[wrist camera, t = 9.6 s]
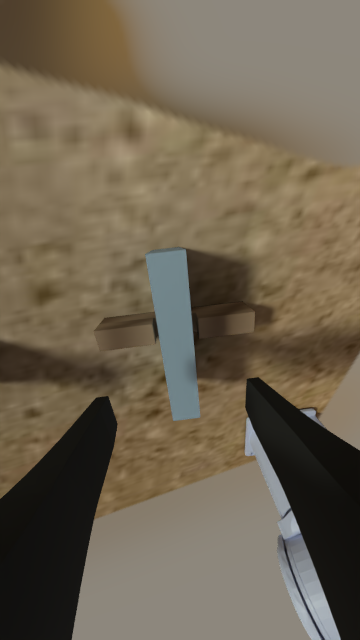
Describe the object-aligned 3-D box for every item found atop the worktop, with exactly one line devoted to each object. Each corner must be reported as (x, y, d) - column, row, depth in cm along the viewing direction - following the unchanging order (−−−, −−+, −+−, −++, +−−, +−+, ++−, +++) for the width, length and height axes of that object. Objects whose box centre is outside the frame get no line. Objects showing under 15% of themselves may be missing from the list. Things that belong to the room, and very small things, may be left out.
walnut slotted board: (242, 301, 19) (255, 311, 16) (241, 319, 20) (253, 332, 17) (104, 318, 19) (93, 331, 16) (109, 335, 19) (99, 351, 17)
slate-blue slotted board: (179, 247, 16) (185, 249, 11) (191, 373, 22) (200, 417, 16) (152, 250, 16) (145, 254, 11) (171, 375, 22) (173, 420, 16)
